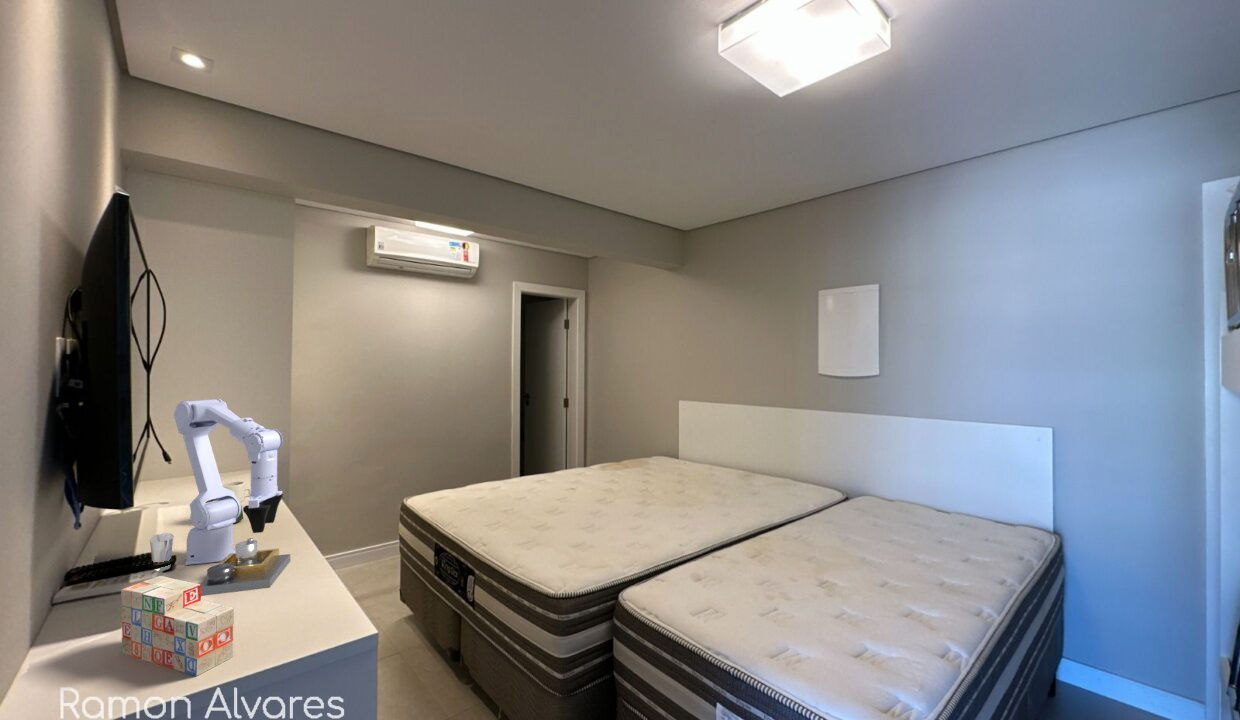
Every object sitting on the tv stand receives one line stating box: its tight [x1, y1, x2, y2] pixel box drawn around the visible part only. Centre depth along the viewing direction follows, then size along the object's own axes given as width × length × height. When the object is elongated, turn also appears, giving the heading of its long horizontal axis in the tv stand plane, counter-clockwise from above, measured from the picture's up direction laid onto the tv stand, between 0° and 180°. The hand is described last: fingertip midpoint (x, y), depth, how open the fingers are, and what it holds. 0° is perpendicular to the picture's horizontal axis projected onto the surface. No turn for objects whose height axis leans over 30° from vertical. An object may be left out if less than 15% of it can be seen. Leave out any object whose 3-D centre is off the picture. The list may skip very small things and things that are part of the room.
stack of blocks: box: [120, 575, 235, 677], centre depth 93 cm, size 21×6×12 cm, turn 71°
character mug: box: [217, 481, 251, 524], centre depth 165 cm, size 11×7×13 cm, turn 125°
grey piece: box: [200, 547, 291, 597], centre depth 125 cm, size 14×16×5 cm
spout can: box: [235, 537, 258, 566], centre depth 126 cm, size 4×4×7 cm
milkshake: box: [149, 532, 175, 572], centre depth 129 cm, size 4×5×10 cm
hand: (263, 527), depth 131 cm, fingers open, 7 cm apart
